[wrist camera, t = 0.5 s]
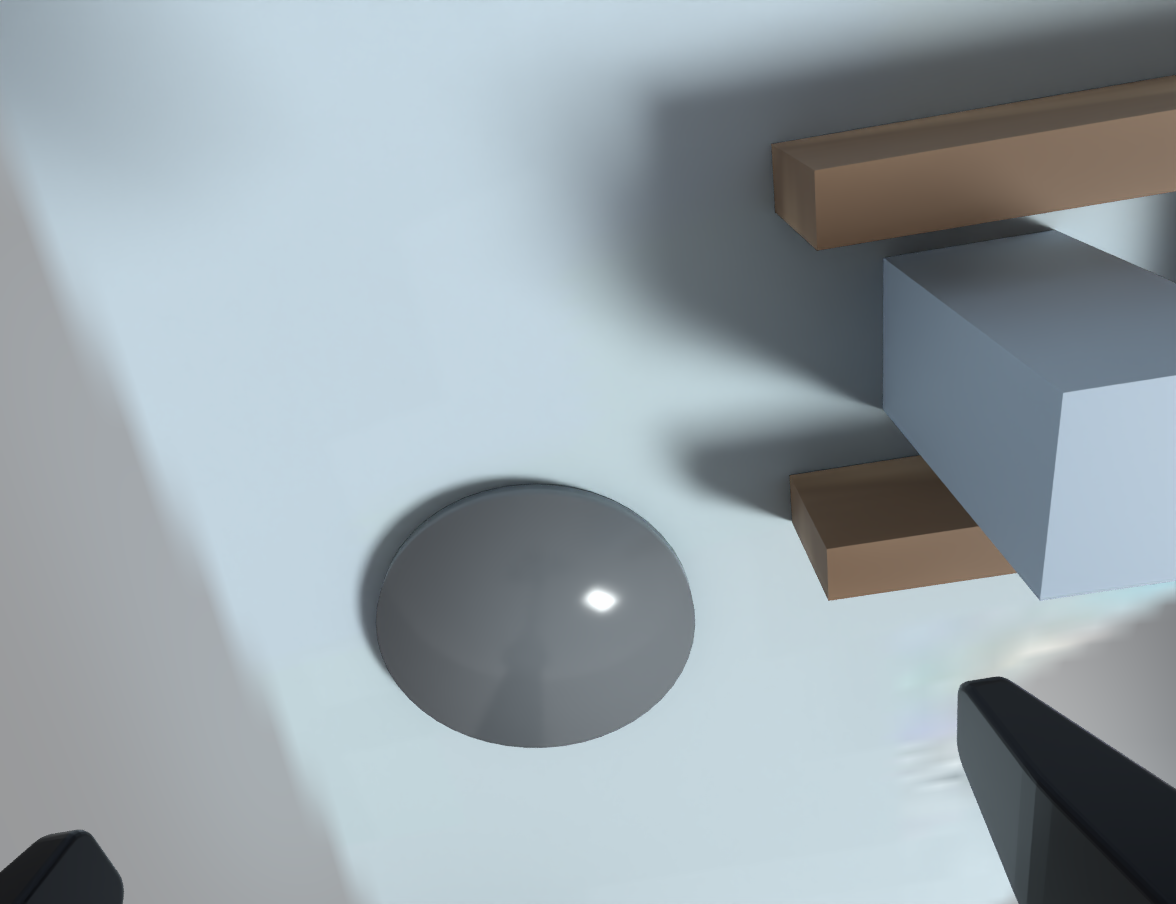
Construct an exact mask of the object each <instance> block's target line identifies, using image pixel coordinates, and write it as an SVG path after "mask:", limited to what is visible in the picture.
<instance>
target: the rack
mask: <svg viewBox="0 0 1176 904" xmlns="http://www.w3.org/2000/svg"><path fill="white" fill-rule="evenodd" d="M771 146H772V164H773V183H774V201H775V213H777V214H778V215H779V216H780V217H781V218H782V219H783V220H784V221H785V222H786V223H787V224H789V225H790V226H791V227H792V228H793V229H794V230H795V231H796V232H797V233H798V234H800V235H801V236H802V237H803V238H804V239H805V240H806V241H807V242H808V243H809V244H810V245H812V246H813V247H814V248H815V249H816V250H824V249H830V248H836V247H842V246H848V245H854V244H860V243H866V242H872V241H878V240H884V239H890V238H896V237H902V236H908V235H914V234H920V233H926V232H932V231H938V230H945V229H951V228H957V227H963V226H969V225H975V224H981V223H987V222H993V221H999V220H1005V219H1011V218H1017V217H1023V216H1029V215H1035V214H1041V213H1047V212H1053V211H1059V210H1065V209H1072V208H1078V207H1084V206H1090V205H1096V204H1102V203H1108V202H1114V201H1120V200H1126V199H1132V198H1138V197H1144V196H1150V195H1156V194H1162V193H1168V192H1174V191H1176V75H1172V76H1166V77H1161V78H1155V79H1149V80H1143V81H1137V82H1131V83H1126V84H1120V85H1114V86H1108V87H1102V88H1096V89H1090V90H1085V91H1079V92H1073V93H1067V94H1061V95H1055V96H1050V97H1044V98H1038V99H1032V100H1026V101H1020V102H1014V103H1009V104H1003V105H997V106H991V107H985V108H979V109H973V110H968V111H962V112H956V113H950V114H944V115H938V116H933V117H927V118H921V119H915V120H909V121H903V122H897V123H892V124H886V125H880V126H874V127H868V128H862V129H857V130H851V131H845V132H839V133H833V134H827V135H821V136H816V137H810V138H804V139H798V140H792V141H786V142H780V143H775V144H771ZM790 493H791V511H792V523H793V525H794V527H795V530H796V532H797V534H798V536H799V538H800V540H801V542H802V545H803V547H804V549H805V551H806V553H807V555H808V558H809V560H810V562H811V564H812V566H813V568H814V570H815V573H816V575H817V577H818V579H819V581H820V583H821V586H822V588H823V590H824V592H825V594H826V596H827V598H828V601H830V600H837V599H843V598H850V597H857V596H864V595H871V594H877V593H884V592H891V591H898V590H904V589H911V588H918V587H925V586H931V585H938V584H945V583H952V582H958V581H965V580H972V579H979V578H985V577H992V576H999V575H1006V574H1012V573H1017V572H1016V571H1015V570H1014V568H1013V567H1012V566H1011V565H1010V564H1009V562H1008V561H1007V560H1006V559H1005V557H1004V556H1003V555H1002V554H1001V553H1000V551H999V550H998V549H997V548H996V546H995V545H994V544H993V543H992V542H991V540H990V539H989V538H988V537H987V536H986V534H985V533H984V532H983V531H982V529H981V528H980V527H979V526H978V525H977V523H976V522H975V521H974V520H973V519H972V517H971V516H970V515H969V514H968V512H967V511H966V510H965V509H964V508H963V506H962V505H961V504H960V503H959V501H958V500H957V499H956V498H955V497H954V495H953V494H952V493H951V492H950V491H949V489H948V488H947V487H946V486H945V484H944V483H943V482H942V481H941V480H940V478H939V477H938V476H937V475H936V474H935V472H934V471H933V470H932V469H931V467H930V466H929V465H928V464H927V463H926V461H925V460H924V459H923V458H922V456H921V455H918V456H911V457H905V458H899V459H892V460H886V461H879V462H873V463H866V464H860V465H853V466H847V467H840V468H834V469H827V470H821V471H814V472H808V473H801V474H795V475H790Z"/></svg>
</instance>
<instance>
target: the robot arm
mask: <svg viewBox="0 0 1176 904" xmlns="http://www.w3.org/2000/svg"><path fill="white" fill-rule="evenodd" d="M957 746H958V752H959V756H960V760H961V763H962V766H963V768H964V771H965V773H966V776H967V778H968V781H969V783H970V786H971V788H972V791H973V793H974V796H975V798H976V800H977V803H978V805H979V808H980V810H981V813H982V815H983V818H984V820H985V823H986V825H987V828H988V830H989V833H990V835H991V837H992V840H993V842H994V845H995V847H996V850H997V852H998V855H999V857H1000V860H1001V862H1002V865H1003V867H1004V870H1005V872H1006V874H1007V877H1008V879H1009V882H1010V884H1011V887H1012V889H1013V892H1014V894H1015V896H1016V899H1017V901H1018V903H1019V904H1176V789H1175V788H1174V787H1172V786H1170V785H1169V784H1167V783H1166V782H1164V781H1163V780H1161V779H1160V778H1158V777H1156V776H1155V775H1154V774H1152V773H1151V772H1149V771H1147V770H1146V769H1145V768H1143V767H1141V766H1140V765H1139V764H1137V763H1135V762H1134V761H1132V760H1131V759H1129V758H1128V757H1126V756H1125V755H1123V754H1122V753H1120V752H1119V751H1117V750H1116V749H1114V748H1113V747H1111V746H1110V745H1108V744H1106V743H1105V742H1103V741H1102V740H1100V739H1099V738H1097V737H1096V736H1094V735H1093V734H1091V733H1090V732H1088V731H1086V730H1085V729H1084V728H1082V727H1081V726H1079V725H1077V724H1076V723H1074V722H1073V721H1071V720H1070V719H1068V718H1067V717H1065V716H1064V715H1062V714H1061V713H1059V712H1058V711H1056V710H1054V709H1053V708H1052V707H1050V706H1049V705H1047V704H1045V703H1044V702H1042V701H1041V700H1039V699H1038V698H1036V697H1035V696H1033V695H1032V694H1030V693H1029V692H1027V691H1026V690H1024V689H1023V688H1021V687H1020V686H1018V685H1017V684H1015V683H1013V682H1012V681H1010V680H1008V679H1006V678H1003V677H990V678H984V679H978V680H972V681H966V682H964V683H962V684H961V685H960V688H959V690H958V708H957ZM123 894H124V889H123V883H122V879H121V877H120V875H119V873H118V872H117V870H116V869H115V867H114V866H113V864H112V863H111V862H110V860H109V859H108V857H107V856H106V855H105V853H104V852H103V850H102V849H101V847H100V846H99V844H98V843H97V842H96V840H95V839H94V837H93V836H92V835H91V834H90V833H88V832H86V831H84V830H73V831H67V832H61V833H55V834H50V835H47V836H44V837H42V838H40V839H39V840H37V841H36V842H35V843H33V844H32V845H31V846H30V847H29V848H28V849H27V850H25V852H23V853H22V854H21V855H20V856H18V857H17V858H16V859H15V860H14V861H13V862H12V863H10V865H8V866H7V867H6V868H5V869H4V870H2V871H1V872H0V904H123Z"/></svg>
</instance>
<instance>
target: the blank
mask: <svg viewBox="0 0 1176 904" xmlns="http://www.w3.org/2000/svg"><path fill="white" fill-rule="evenodd" d="M883 410H884V412H885V413H886V414H887V415H888V416H889V418H890V419H891V420H892V421H893V422H894V424H895V425H896V426H897V427H898V429H899V430H900V431H901V432H902V433H903V435H904V436H905V437H906V438H907V439H908V441H909V442H910V443H911V444H912V446H913V447H914V448H915V449H916V450H917V452H918V453H919V454H920V455H921V456H922V458H923V459H924V460H925V461H926V463H927V464H928V465H929V466H930V467H931V469H932V470H933V471H934V472H935V474H936V475H937V476H938V477H939V478H940V480H941V481H942V482H943V483H944V484H945V486H946V487H947V488H948V489H949V491H950V492H951V493H952V494H953V495H954V497H955V498H956V499H957V500H958V501H959V503H960V504H961V505H962V506H963V508H964V509H965V510H966V511H967V512H968V514H969V515H970V516H971V517H972V519H973V520H974V521H975V522H976V523H977V525H978V526H979V527H980V528H981V529H982V531H983V532H984V533H985V534H986V536H987V537H988V538H989V539H990V540H991V542H992V543H993V544H994V545H995V546H996V548H997V549H998V550H999V551H1000V553H1001V554H1002V555H1003V556H1004V557H1005V559H1006V560H1007V561H1008V562H1009V564H1010V565H1011V566H1012V567H1013V568H1014V570H1015V571H1016V572H1017V573H1018V574H1019V576H1020V577H1021V578H1022V579H1023V581H1024V582H1025V583H1026V584H1027V585H1028V587H1029V588H1030V589H1031V590H1032V591H1033V593H1034V594H1035V595H1036V596H1037V598H1038V599H1039V600H1040V601H1041V600H1048V599H1054V598H1061V597H1068V596H1075V595H1082V594H1089V593H1096V592H1103V591H1109V590H1116V589H1123V588H1130V587H1137V586H1144V585H1151V584H1157V583H1164V582H1171V581H1176V283H1175V282H1173V281H1170V280H1168V279H1166V278H1163V277H1161V276H1159V275H1157V274H1154V273H1152V272H1150V271H1147V270H1145V269H1143V268H1141V267H1138V266H1136V265H1134V264H1131V263H1129V262H1127V261H1125V260H1122V259H1120V258H1118V257H1115V256H1113V255H1111V254H1109V253H1106V252H1104V251H1102V250H1099V249H1097V248H1095V247H1093V246H1090V245H1088V244H1086V243H1083V242H1081V241H1079V240H1077V239H1074V238H1072V237H1070V236H1067V235H1065V234H1063V233H1061V232H1058V231H1056V230H1050V231H1044V232H1038V233H1032V234H1026V235H1020V236H1014V237H1008V238H1001V239H995V240H989V241H983V242H977V243H971V244H965V245H959V246H953V247H947V248H940V249H934V250H928V251H922V252H916V253H910V254H904V255H898V256H892V257H886V258H884V259H883Z"/></svg>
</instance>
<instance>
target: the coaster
mask: <svg viewBox="0 0 1176 904" xmlns="http://www.w3.org/2000/svg"><path fill="white" fill-rule="evenodd" d="M376 628H377V639H378V643H379V647H380V651H381V654H382V657H383V659H384V662H385V664H386V666H387V668H388V671H389V672H390V674H391V675H392V677H393V679H394V680H395V682H396V683H397V685H398V686H399V687H400V689H401V690H402V691H403V692H404V693H405V694H406V696H407V697H408V698H409V699H410V700H411V701H412V702H413V703H414V704H416V705H417V706H418V707H419V708H420V709H421V710H422V711H424V712H425V713H426V714H428V715H429V716H431V717H432V718H434V719H435V720H436V721H438V722H440V723H442V724H444V725H445V726H447V727H449V728H451V729H453V730H455V731H457V732H460V733H462V734H465V735H467V736H469V737H473V738H476V739H479V740H483V741H486V742H490V743H495V744H500V745H505V746H514V747H524V748H546V747H557V746H566V745H571V744H576V743H581V742H585V741H588V740H592V739H595V738H599V737H602V736H604V735H606V734H609V733H611V732H614V731H616V730H618V729H620V728H622V727H624V726H626V725H628V724H629V723H631V722H633V721H635V720H636V719H637V718H639V717H640V716H642V715H643V714H645V713H646V712H648V711H649V710H650V709H651V708H652V707H653V706H654V705H656V704H657V703H658V702H659V701H660V700H661V699H662V698H663V697H664V696H665V694H666V693H667V692H668V691H669V690H670V689H671V688H672V686H673V685H674V683H675V682H676V680H677V679H678V677H679V676H680V674H681V673H682V671H683V668H684V666H685V664H686V662H687V660H688V658H689V654H690V651H691V647H692V644H693V638H694V630H695V613H694V605H693V600H692V596H691V591H690V587H689V583H688V579H687V576H686V574H685V571H684V569H683V566H682V564H681V562H680V560H679V558H678V557H677V555H676V553H675V552H674V550H673V548H672V547H671V546H670V545H669V543H668V542H667V541H666V540H665V538H664V537H663V536H662V535H661V534H660V533H659V532H658V531H657V530H656V529H655V528H654V527H653V526H652V525H651V524H650V523H649V522H647V521H646V520H645V519H643V518H642V517H640V516H639V515H638V514H636V513H635V512H633V511H632V510H630V509H628V508H627V507H625V506H623V505H621V504H619V503H617V502H615V501H613V500H611V499H608V498H606V497H603V496H600V495H598V494H595V493H592V492H588V491H584V490H580V489H576V488H572V487H565V486H557V485H543V484H526V485H515V486H506V487H501V488H496V489H492V490H487V491H483V492H480V493H477V494H474V495H472V496H469V497H466V498H463V499H461V500H459V501H457V502H455V503H453V504H451V505H449V506H447V507H445V508H443V509H442V510H440V511H439V512H437V513H436V514H434V515H433V516H431V517H430V518H428V519H427V520H426V521H425V522H424V523H423V524H421V525H420V526H419V527H418V528H417V529H416V530H415V531H413V533H412V534H411V535H410V536H409V537H408V538H407V540H406V541H405V542H404V543H403V544H402V545H401V547H400V549H399V550H398V552H397V553H396V555H395V557H394V558H393V560H392V562H391V564H390V566H389V569H388V571H387V573H386V576H385V579H384V582H383V585H382V589H381V593H380V597H379V601H378V605H377V616H376Z"/></svg>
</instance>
